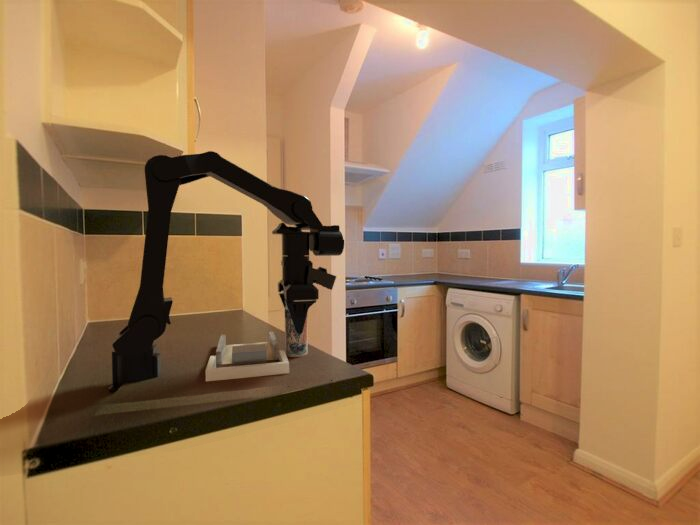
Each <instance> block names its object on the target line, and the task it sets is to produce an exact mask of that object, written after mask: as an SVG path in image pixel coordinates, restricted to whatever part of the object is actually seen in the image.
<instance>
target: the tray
mask: <svg viewBox="0 0 700 525" xmlns="http://www.w3.org/2000/svg"><path fill="white" fill-rule="evenodd" d="M278 360H279V361H278V362H269V363H268V362H267V363H265V364H254V365H243V366H232V365H231V366H224V367H223V366H222V367H217V365H216V354H215V355H210V357H209V359H208V361H207V362H208V363H207V365H206V368H205V382H214V381H222V380H223V381H225V380H226V381H227V380H233V379H235V380H236V379H244V378H253V377H263V376H264V377H266V376H274V375H285V374H290V361H289V359H288V356H286V354H285V349H279V359H278Z"/></svg>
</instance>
